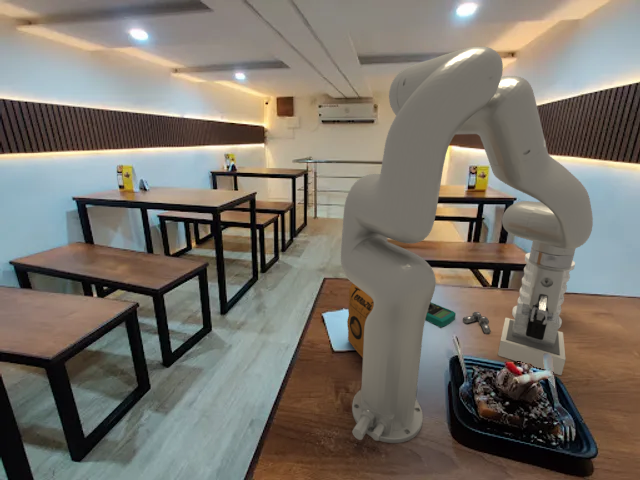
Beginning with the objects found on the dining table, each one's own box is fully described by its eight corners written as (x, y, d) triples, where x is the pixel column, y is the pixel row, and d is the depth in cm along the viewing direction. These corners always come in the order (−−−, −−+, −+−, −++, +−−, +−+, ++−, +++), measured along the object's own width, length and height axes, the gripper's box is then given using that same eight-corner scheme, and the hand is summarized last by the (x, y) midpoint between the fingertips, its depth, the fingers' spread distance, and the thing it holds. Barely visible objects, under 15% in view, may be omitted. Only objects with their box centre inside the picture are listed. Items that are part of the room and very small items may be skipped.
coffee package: (363, 372, 68) (368, 279, 62) (342, 340, 79) (344, 258, 73) (404, 363, 71) (412, 273, 64) (378, 333, 82) (383, 253, 76)
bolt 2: (491, 334, 82) (493, 326, 81) (481, 333, 82) (483, 325, 81) (487, 324, 86) (488, 317, 85) (477, 323, 86) (479, 315, 86)
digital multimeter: (411, 300, 100) (412, 292, 99) (455, 320, 89) (457, 311, 88) (396, 308, 95) (397, 299, 95) (441, 329, 84) (443, 320, 84)
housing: (511, 335, 74) (517, 309, 72) (513, 324, 78) (518, 299, 76) (553, 347, 69) (560, 319, 67) (552, 335, 74) (559, 308, 72)
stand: (561, 375, 67) (565, 358, 66) (497, 355, 74) (500, 339, 72) (559, 346, 77) (563, 331, 75) (502, 330, 83) (505, 316, 82)
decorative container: (571, 326, 85) (588, 264, 80) (538, 333, 82) (553, 269, 77) (533, 306, 96) (545, 249, 90) (502, 311, 93) (513, 253, 87)
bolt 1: (467, 325, 86) (469, 317, 85) (461, 320, 88) (462, 313, 87) (480, 321, 87) (482, 314, 87) (474, 317, 89) (475, 310, 89)
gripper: (575, 275, 59) (555, 352, 64) (569, 250, 73) (553, 315, 78) (528, 266, 63) (512, 340, 68) (531, 244, 77) (518, 307, 82)
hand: (534, 327), depth 73 cm, fingers open, 9 cm apart
